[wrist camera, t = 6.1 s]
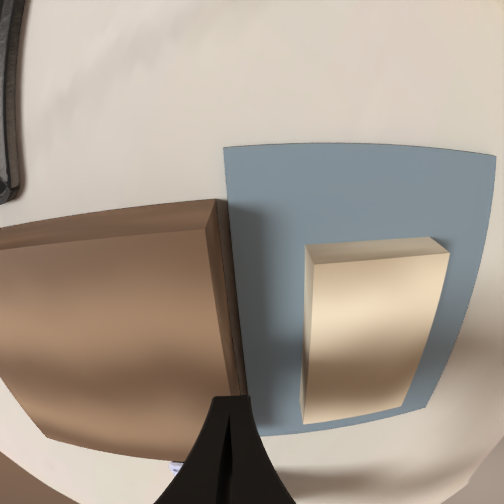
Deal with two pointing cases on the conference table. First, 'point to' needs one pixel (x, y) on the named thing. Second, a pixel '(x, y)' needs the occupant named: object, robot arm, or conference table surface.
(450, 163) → the rubber mat
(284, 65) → the conference table surface
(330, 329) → the birch block
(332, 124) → the conference table surface
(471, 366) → the conference table surface
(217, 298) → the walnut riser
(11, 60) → the phone
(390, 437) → the conference table surface
